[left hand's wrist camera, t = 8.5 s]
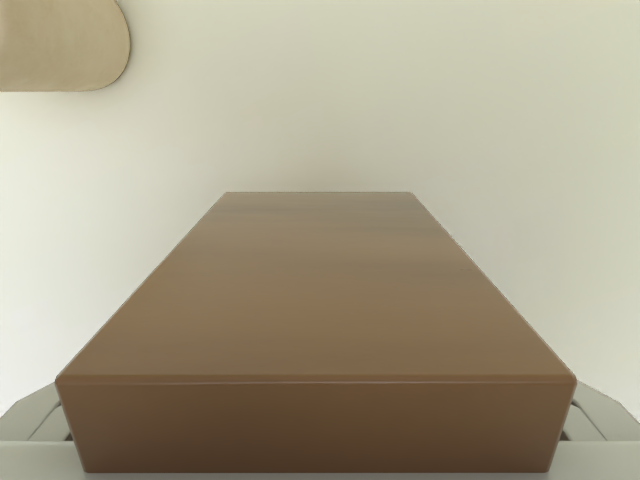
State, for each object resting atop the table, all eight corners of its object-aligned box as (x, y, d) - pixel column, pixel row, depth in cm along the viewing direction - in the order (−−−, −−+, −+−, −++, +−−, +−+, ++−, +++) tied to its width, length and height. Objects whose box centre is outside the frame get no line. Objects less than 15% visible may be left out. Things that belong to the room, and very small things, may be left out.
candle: (137, 94, 20) (-13, 98, 11) (35, 87, 20) (-205, 86, 11) (124, -26, 18) (-74, -143, 9) (10, -35, 18) (-311, -163, 9)
